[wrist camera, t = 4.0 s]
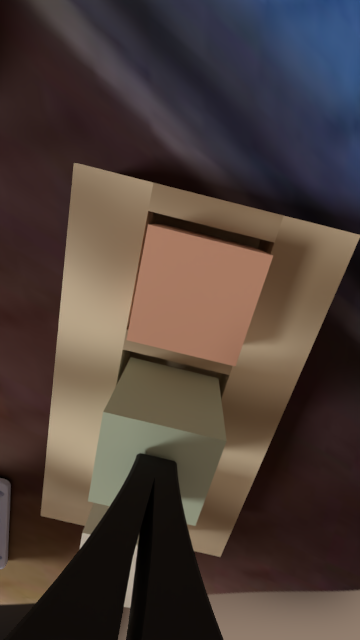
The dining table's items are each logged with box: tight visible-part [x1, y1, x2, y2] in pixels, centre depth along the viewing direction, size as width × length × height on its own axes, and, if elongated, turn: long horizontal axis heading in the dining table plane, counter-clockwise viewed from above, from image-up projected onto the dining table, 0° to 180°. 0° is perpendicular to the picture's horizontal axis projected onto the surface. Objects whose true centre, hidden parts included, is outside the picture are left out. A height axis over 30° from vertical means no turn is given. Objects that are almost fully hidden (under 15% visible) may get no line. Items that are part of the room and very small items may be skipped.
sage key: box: [88, 357, 227, 526], centre depth 12 cm, size 4×4×4 cm
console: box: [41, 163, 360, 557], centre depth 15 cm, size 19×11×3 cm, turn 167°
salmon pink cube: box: [127, 224, 273, 366], centre depth 12 cm, size 4×4×4 cm
